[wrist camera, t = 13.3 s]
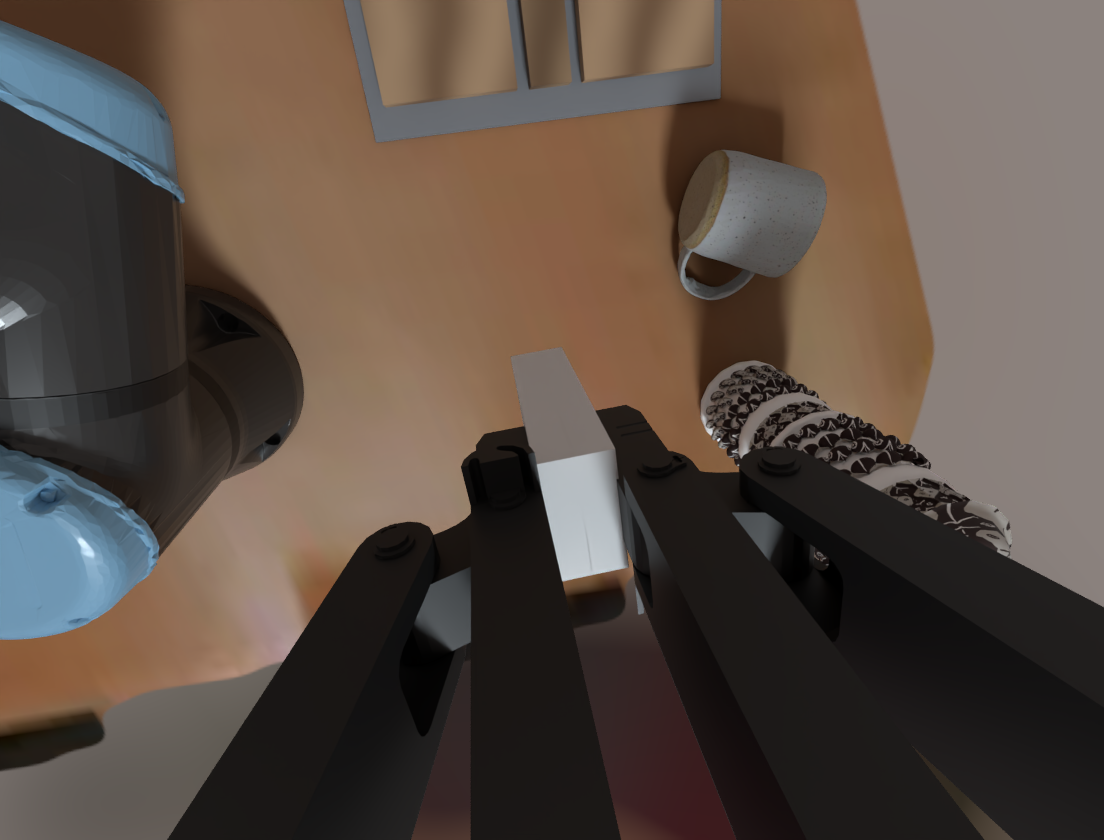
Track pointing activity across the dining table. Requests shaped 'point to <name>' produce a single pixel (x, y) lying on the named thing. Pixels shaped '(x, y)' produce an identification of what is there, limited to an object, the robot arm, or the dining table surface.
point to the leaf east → (643, 37)
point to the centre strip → (545, 43)
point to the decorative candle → (837, 447)
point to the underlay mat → (530, 102)
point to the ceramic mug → (748, 217)
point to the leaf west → (439, 49)
